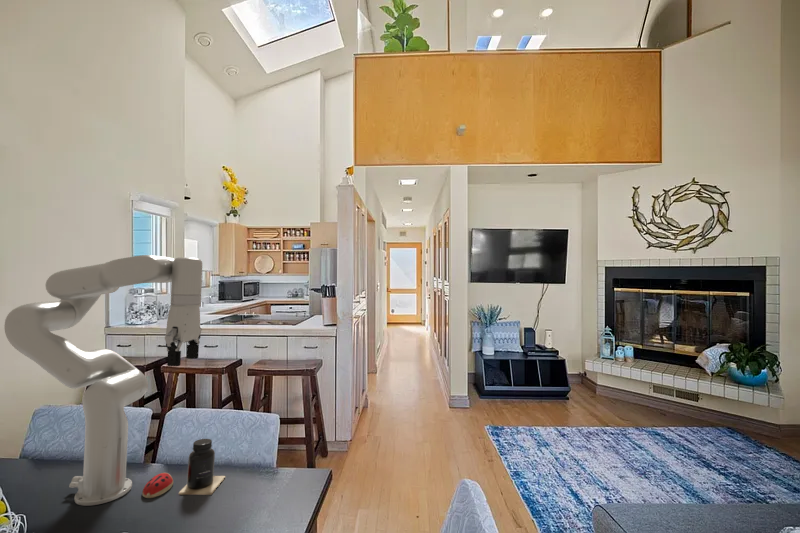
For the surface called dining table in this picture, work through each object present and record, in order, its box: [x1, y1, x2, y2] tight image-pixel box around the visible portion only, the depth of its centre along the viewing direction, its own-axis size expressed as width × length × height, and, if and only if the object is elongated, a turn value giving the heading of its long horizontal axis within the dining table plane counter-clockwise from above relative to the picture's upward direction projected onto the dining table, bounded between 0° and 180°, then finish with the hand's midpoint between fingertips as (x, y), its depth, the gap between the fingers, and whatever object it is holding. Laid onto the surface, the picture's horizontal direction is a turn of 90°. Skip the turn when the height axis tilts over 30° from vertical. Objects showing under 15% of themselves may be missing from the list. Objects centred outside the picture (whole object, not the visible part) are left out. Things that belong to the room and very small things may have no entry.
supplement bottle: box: [186, 438, 216, 489], centre depth 111 cm, size 7×7×12 cm
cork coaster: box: [178, 475, 226, 496], centre depth 111 cm, size 9×9×1 cm
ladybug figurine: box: [142, 472, 174, 499], centre depth 108 cm, size 7×10×4 cm
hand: (183, 361), depth 108 cm, fingers open, 9 cm apart
